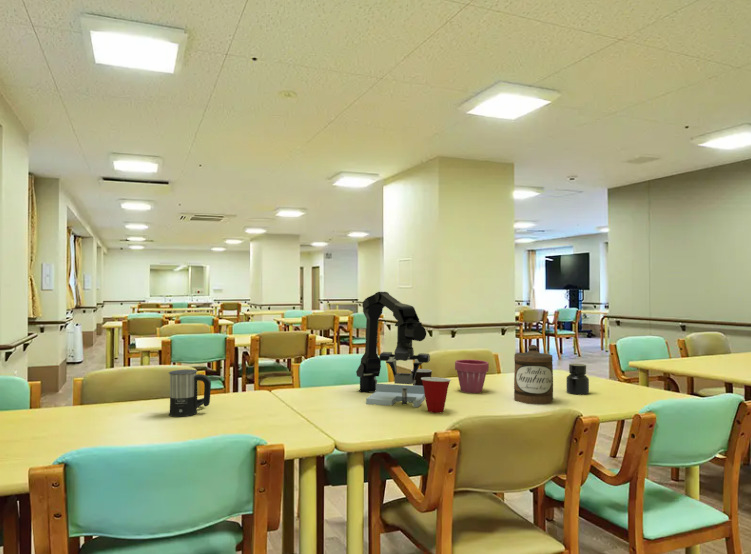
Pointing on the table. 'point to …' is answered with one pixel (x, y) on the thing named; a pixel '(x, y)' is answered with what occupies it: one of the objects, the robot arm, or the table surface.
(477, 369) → the plant pot
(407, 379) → the square hollow frame
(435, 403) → the plastic cup
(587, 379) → the ink bottle
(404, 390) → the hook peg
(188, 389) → the milk frother
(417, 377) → the coffee mug
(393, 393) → the grey walled base plate
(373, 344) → the robot arm
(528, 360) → the wooden container
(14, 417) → the table surface
